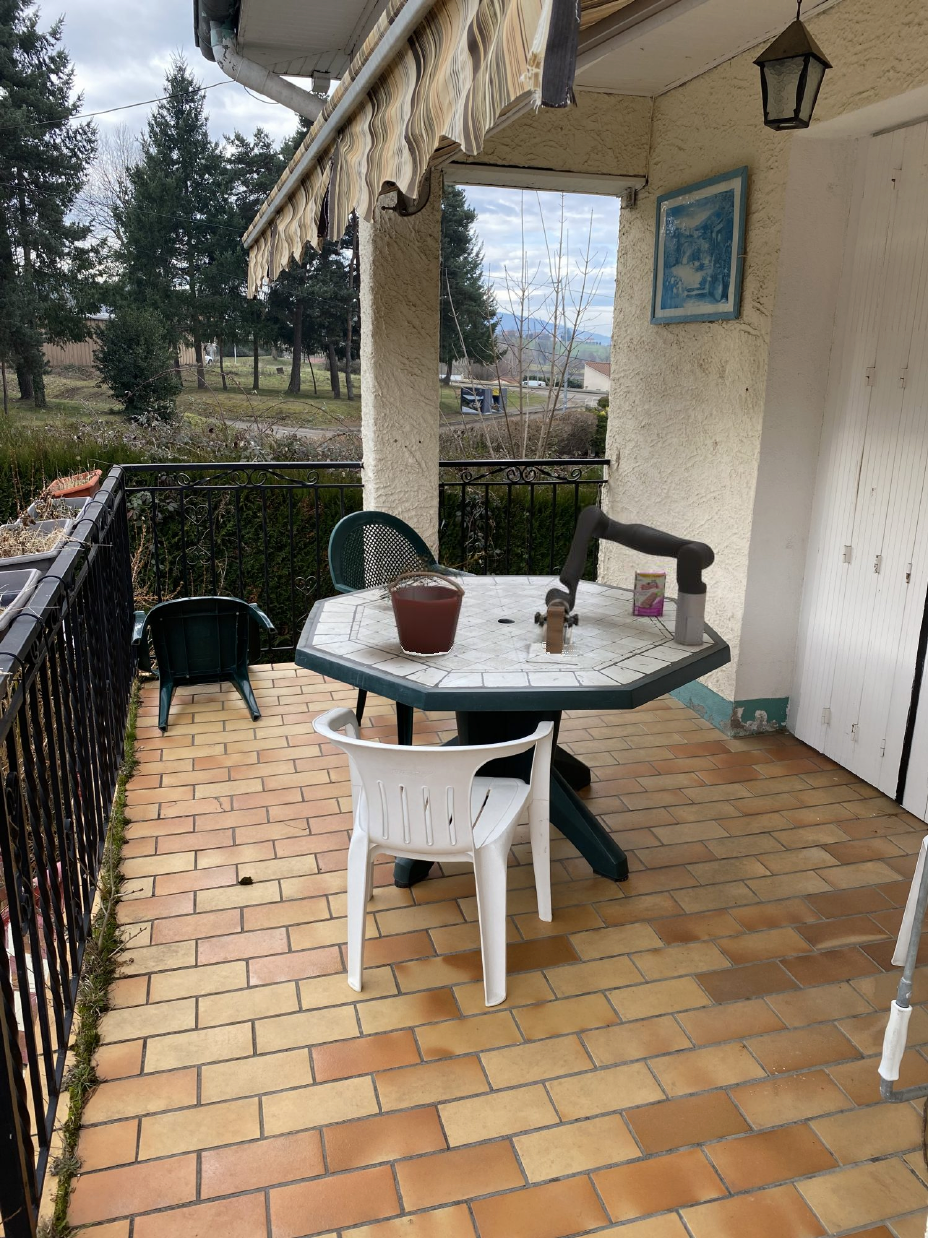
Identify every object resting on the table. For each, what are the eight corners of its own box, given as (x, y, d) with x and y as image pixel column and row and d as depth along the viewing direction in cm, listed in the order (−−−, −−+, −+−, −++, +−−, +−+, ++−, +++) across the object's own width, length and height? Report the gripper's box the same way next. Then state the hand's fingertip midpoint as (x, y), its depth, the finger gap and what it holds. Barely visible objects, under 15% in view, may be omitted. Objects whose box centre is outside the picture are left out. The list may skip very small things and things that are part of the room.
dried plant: (349, 566, 326) (457, 522, 310) (385, 557, 355) (485, 517, 339) (378, 644, 327) (487, 604, 311) (412, 629, 356) (513, 593, 340)
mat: (531, 643, 296) (531, 642, 296) (580, 646, 294) (580, 645, 294) (526, 661, 277) (526, 660, 277) (578, 664, 275) (578, 663, 274)
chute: (546, 623, 321) (546, 616, 320) (572, 624, 319) (572, 617, 319) (541, 643, 296) (542, 635, 296) (569, 644, 295) (570, 637, 294)
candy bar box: (632, 616, 332) (635, 572, 328) (631, 612, 337) (634, 569, 333) (663, 617, 331) (666, 573, 327) (661, 613, 336) (665, 570, 332)
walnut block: (547, 648, 290) (548, 606, 286) (562, 648, 289) (564, 606, 285) (545, 652, 285) (547, 609, 281) (561, 653, 284) (563, 610, 281)
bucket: (376, 652, 284) (375, 575, 277) (408, 635, 303) (408, 562, 297) (446, 663, 274) (447, 583, 268) (475, 644, 294) (476, 570, 287)
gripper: (537, 600, 300) (533, 612, 284) (579, 602, 298) (578, 614, 282) (536, 621, 302) (532, 635, 286) (578, 624, 300) (577, 637, 284)
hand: (555, 624), depth 284 cm, fingers open, 8 cm apart
